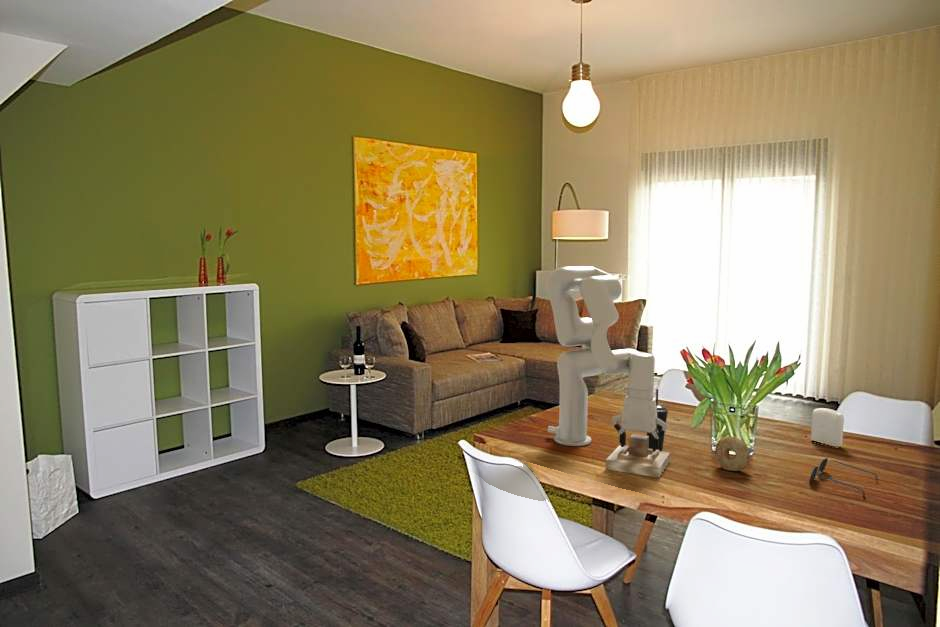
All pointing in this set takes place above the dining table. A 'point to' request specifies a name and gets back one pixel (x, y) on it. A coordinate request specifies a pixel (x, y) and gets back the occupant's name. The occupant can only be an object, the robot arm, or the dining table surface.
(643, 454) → the walnut block
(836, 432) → the photo printer
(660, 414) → the drinking cup
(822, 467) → the sunglasses
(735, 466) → the stone disc
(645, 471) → the base
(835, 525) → the dining table surface
